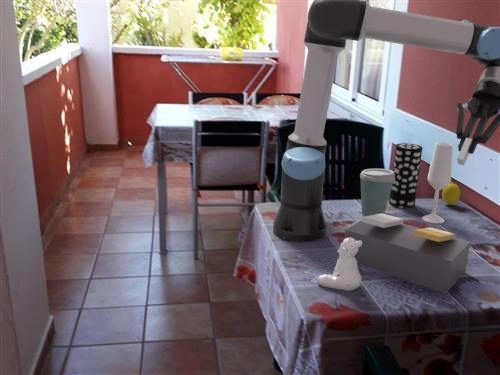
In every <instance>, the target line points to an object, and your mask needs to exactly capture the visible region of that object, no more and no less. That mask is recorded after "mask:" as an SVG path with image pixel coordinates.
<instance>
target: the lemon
mask: <svg viewBox="0 0 500 375" xmlns="http://www.w3.org/2000/svg"><path fill="white" fill-rule="evenodd" d="M460 196H461V190H460V187H459V185H457V183H455V182H453V181H451V182H450V183H449V184H448V185H447V186H446V187H444V188H443V189H442V192H441V198H442V201H444V203H446V204H447V205H448V206H451V205H452V204H455V203H457V202H458V201H459V199H460Z"/></svg>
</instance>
